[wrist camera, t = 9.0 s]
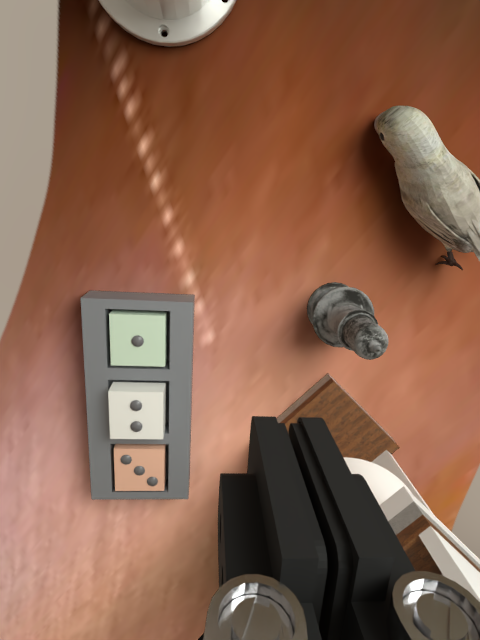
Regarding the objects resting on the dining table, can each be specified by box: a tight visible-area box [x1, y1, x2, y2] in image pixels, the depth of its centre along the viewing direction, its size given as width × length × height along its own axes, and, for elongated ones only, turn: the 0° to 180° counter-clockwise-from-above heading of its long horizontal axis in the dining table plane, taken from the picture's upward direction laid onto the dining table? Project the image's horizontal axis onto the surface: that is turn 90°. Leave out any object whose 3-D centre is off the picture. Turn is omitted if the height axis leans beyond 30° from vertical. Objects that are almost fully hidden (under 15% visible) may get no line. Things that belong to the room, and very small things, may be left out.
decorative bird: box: [374, 106, 480, 270], centre depth 35 cm, size 5×16×8 cm, turn 38°
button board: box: [81, 291, 195, 499], centre depth 41 cm, size 22×10×3 cm, turn 177°
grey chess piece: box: [307, 282, 388, 360], centre depth 36 cm, size 6×6×12 cm
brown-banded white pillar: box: [276, 374, 480, 602], centre depth 29 cm, size 11×11×35 cm
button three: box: [114, 444, 166, 491], centre depth 43 cm, size 5×5×2 cm
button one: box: [109, 309, 167, 367], centre depth 39 cm, size 5×5×2 cm
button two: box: [108, 382, 166, 439], centre depth 39 cm, size 5×5×2 cm
